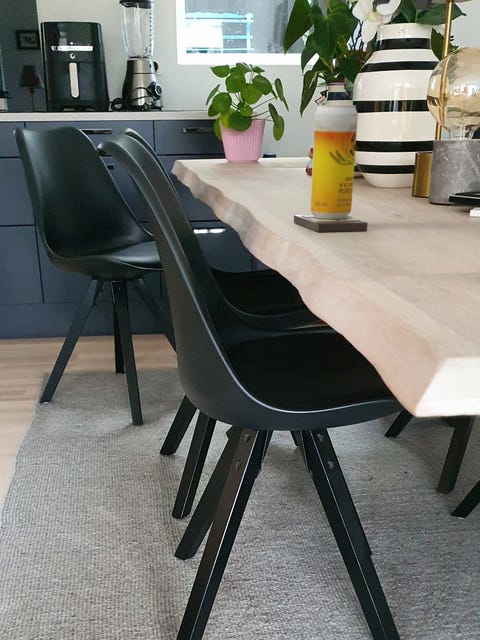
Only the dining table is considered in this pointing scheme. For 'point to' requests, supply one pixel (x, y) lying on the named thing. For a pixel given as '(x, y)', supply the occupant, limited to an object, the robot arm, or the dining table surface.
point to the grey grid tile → (330, 223)
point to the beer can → (333, 161)
